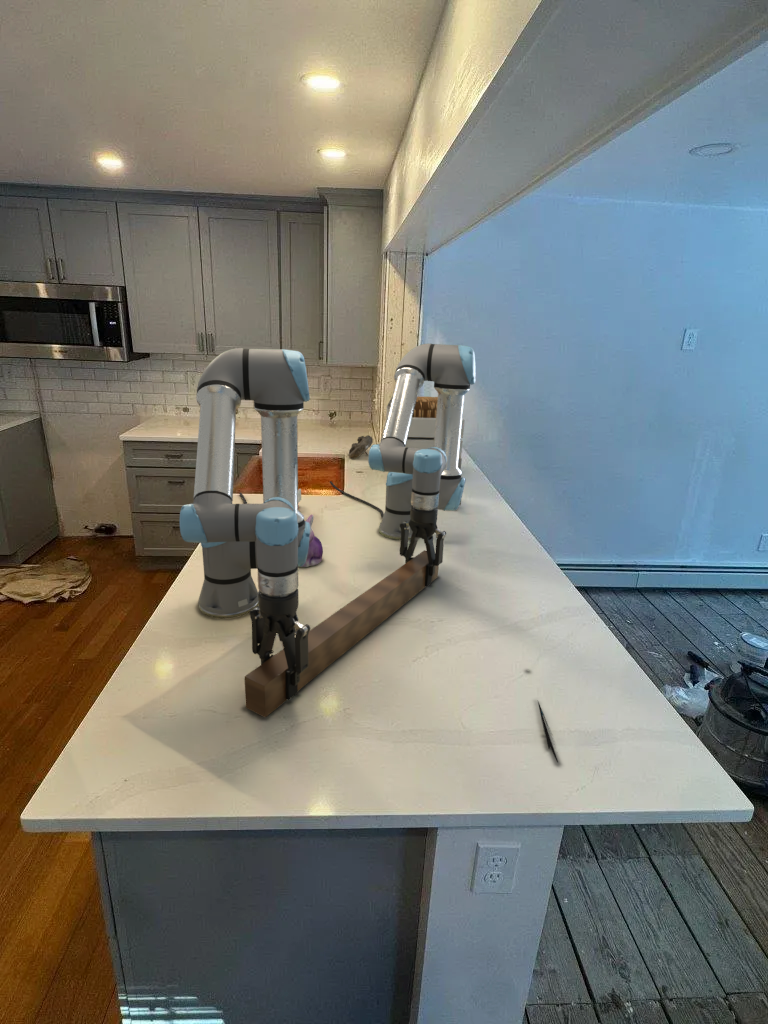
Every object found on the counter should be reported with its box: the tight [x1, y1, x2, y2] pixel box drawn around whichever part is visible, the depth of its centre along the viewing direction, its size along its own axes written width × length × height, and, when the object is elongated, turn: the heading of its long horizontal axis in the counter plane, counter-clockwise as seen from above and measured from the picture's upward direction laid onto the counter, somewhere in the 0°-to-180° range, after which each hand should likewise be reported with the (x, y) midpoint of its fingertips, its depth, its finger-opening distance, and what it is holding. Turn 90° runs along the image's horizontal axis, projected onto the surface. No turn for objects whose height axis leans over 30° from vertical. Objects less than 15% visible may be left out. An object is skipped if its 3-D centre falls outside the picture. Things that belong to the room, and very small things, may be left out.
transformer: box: [385, 395, 465, 471], centre depth 268 cm, size 34×33×41 cm
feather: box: [527, 669, 559, 763], centre depth 113 cm, size 2×28×2 cm
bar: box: [244, 549, 440, 718], centre depth 138 cm, size 74×5×7 cm, turn 149°
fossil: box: [348, 435, 374, 460], centre depth 302 cm, size 22×10×15 cm
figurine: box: [301, 513, 324, 568], centre depth 172 cm, size 9×10×15 cm
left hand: (280, 690), depth 115 cm, fingers closed on bar, 5 cm apart
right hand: (419, 581), depth 164 cm, fingers closed on bar, 5 cm apart
